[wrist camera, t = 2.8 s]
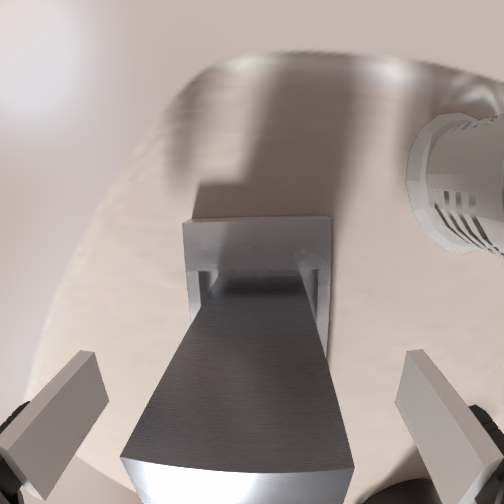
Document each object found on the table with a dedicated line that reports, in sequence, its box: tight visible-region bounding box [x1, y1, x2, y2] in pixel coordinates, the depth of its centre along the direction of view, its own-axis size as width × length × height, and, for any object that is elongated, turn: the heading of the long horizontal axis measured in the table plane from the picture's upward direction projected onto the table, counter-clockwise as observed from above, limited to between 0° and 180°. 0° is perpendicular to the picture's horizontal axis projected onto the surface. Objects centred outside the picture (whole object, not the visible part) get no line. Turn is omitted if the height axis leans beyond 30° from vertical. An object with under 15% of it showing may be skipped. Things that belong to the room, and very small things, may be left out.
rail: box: [182, 216, 332, 357], centre depth 21 cm, size 8×28×2 cm, turn 2°
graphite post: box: [120, 276, 355, 504], centre depth 13 cm, size 5×5×14 cm
